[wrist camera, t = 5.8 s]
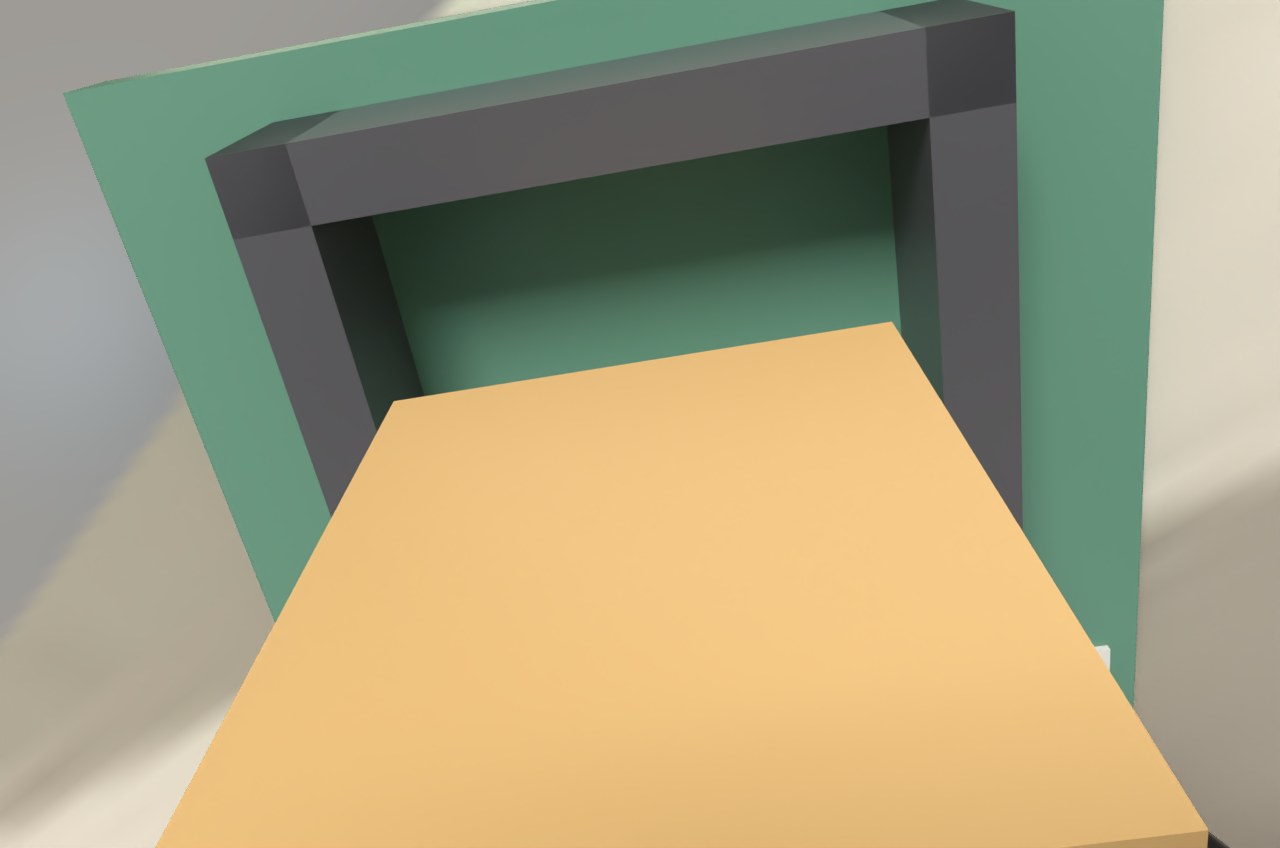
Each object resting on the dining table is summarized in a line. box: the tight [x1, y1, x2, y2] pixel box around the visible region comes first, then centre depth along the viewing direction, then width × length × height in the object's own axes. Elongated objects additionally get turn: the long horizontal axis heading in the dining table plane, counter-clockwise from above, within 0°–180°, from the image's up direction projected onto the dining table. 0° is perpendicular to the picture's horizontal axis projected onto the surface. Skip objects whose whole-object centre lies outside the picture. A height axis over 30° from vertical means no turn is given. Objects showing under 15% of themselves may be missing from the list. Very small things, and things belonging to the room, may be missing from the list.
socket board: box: [64, 0, 1164, 708], centre depth 13 cm, size 11×12×3 cm
